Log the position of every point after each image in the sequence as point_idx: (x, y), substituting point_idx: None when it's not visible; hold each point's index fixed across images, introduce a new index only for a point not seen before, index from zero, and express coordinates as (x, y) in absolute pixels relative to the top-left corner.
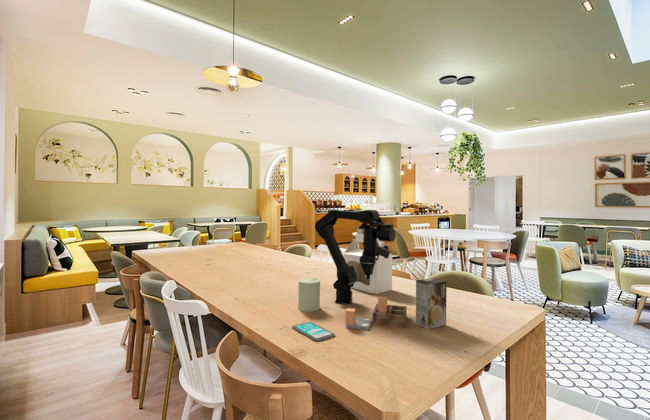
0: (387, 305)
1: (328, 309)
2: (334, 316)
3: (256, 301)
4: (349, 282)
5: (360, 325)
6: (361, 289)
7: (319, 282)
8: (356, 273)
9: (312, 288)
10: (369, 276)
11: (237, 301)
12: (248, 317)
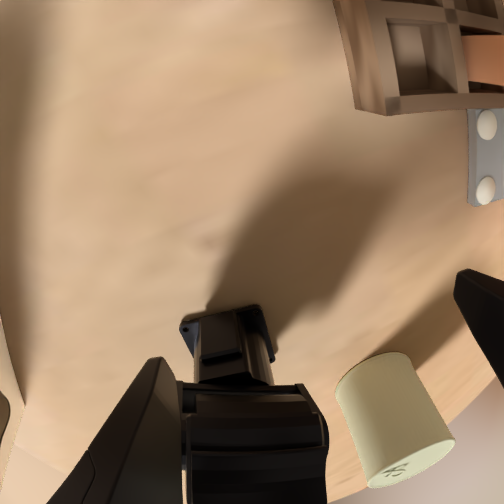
0: (388, 33)
1: (371, 332)
2: (443, 272)
3: (352, 462)
4: (303, 404)
5: None
6: (4, 343)
7: (425, 443)
8: (198, 456)
9: (444, 422)
10: (496, 285)
11: (363, 471)
12: (458, 404)
